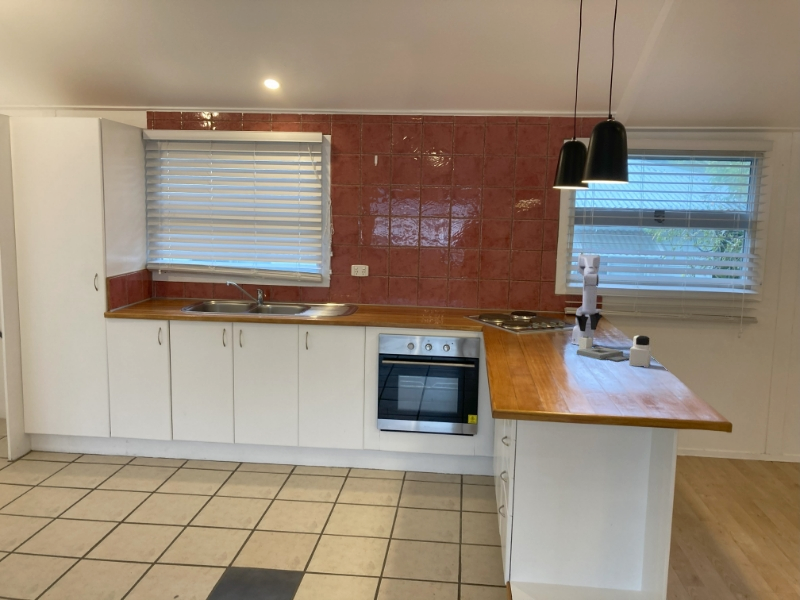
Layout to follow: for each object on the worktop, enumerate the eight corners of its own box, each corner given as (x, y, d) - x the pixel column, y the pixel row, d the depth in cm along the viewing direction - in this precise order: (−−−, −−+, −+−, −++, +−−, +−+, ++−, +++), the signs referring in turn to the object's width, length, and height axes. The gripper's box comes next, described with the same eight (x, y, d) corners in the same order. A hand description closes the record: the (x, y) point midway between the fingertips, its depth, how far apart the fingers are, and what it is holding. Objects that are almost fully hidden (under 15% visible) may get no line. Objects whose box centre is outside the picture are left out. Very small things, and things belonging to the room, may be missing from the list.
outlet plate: (576, 354, 265) (576, 349, 265) (599, 350, 274) (600, 346, 274) (599, 359, 255) (599, 354, 255) (622, 355, 264) (623, 351, 264)
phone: (606, 360, 256) (606, 357, 255) (619, 358, 260) (619, 355, 260) (616, 363, 251) (616, 360, 251) (629, 361, 256) (629, 358, 256)
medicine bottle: (650, 364, 248) (652, 335, 246) (647, 367, 241) (649, 338, 240) (632, 362, 251) (633, 333, 250) (628, 365, 245) (630, 336, 244)
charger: (578, 350, 274) (579, 335, 273) (584, 349, 276) (585, 334, 275) (585, 352, 271) (586, 336, 270) (591, 351, 273) (592, 336, 272)
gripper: (586, 302, 263) (584, 333, 265) (607, 300, 271) (605, 330, 273) (573, 300, 269) (571, 330, 270) (594, 299, 277) (592, 328, 279)
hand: (587, 330), depth 272 cm, fingers open, 7 cm apart
